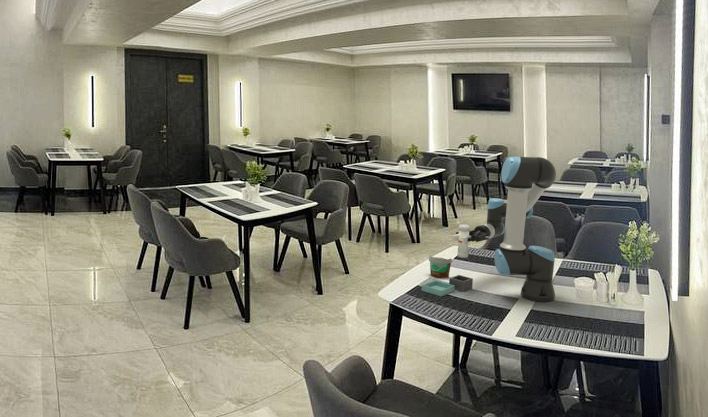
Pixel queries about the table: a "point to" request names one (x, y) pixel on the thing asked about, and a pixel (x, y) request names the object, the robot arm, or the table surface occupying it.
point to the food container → (440, 267)
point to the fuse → (462, 247)
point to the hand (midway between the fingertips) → (457, 239)
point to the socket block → (461, 283)
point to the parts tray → (438, 288)
